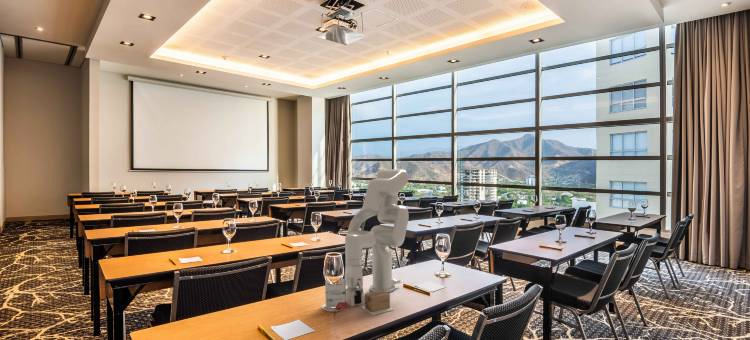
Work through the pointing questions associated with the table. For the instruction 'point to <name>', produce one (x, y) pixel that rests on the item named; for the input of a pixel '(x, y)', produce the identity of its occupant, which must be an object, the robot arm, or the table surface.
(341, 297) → the ink box
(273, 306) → the table surface
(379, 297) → the walnut brick
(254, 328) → the table surface
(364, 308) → the mat
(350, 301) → the cream brick
